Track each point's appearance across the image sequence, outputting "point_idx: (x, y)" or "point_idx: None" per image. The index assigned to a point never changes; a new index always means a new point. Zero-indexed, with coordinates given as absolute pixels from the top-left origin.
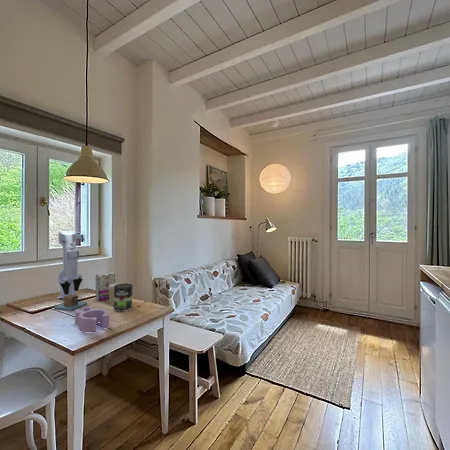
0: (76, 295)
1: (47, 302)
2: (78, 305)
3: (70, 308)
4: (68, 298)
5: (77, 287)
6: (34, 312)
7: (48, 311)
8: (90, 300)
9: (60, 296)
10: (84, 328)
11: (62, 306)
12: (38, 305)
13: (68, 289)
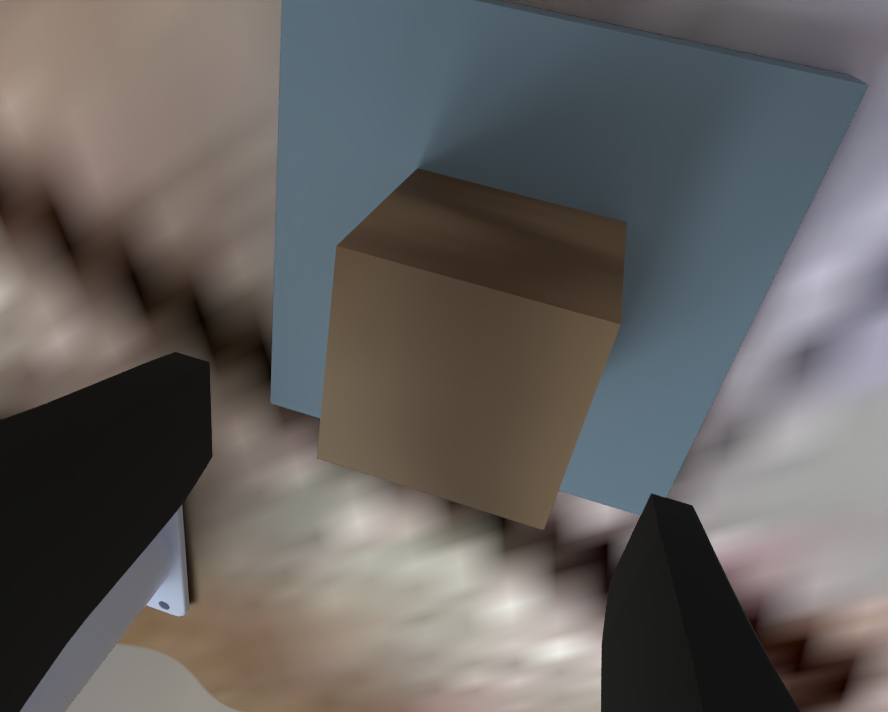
0: (343, 287)
1: (355, 649)
2: (550, 68)
3: (801, 159)
4: (589, 400)
5: (115, 442)
6: (806, 673)
7: (784, 526)
8: (57, 43)
9: (154, 593)
10: None
11: (625, 398)
12: (485, 700)
13: (728, 669)
